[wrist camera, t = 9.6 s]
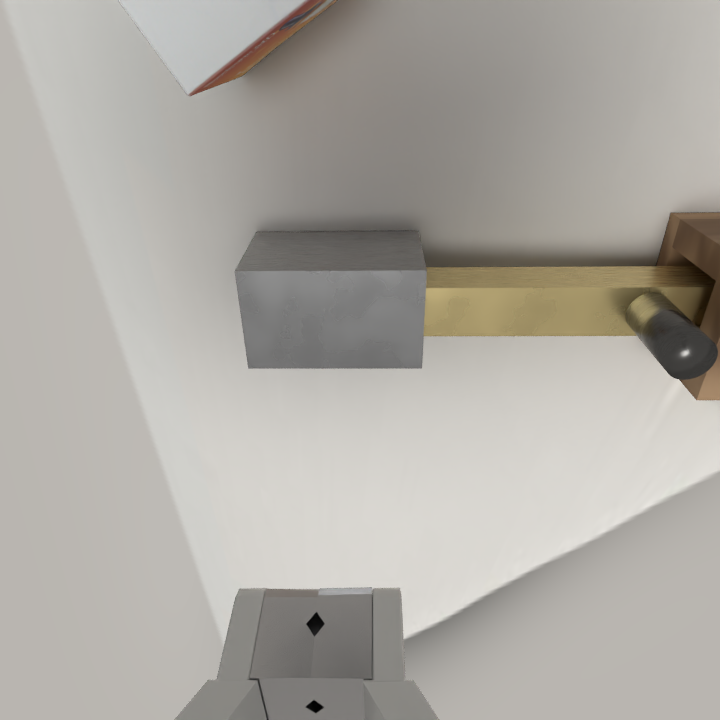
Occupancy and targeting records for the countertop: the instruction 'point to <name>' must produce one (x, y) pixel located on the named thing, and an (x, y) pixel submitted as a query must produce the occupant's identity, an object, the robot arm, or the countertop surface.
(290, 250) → the sleeve
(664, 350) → the yellow bar with knob
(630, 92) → the countertop surface
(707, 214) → the socket
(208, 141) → the countertop surface
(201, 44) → the small box
